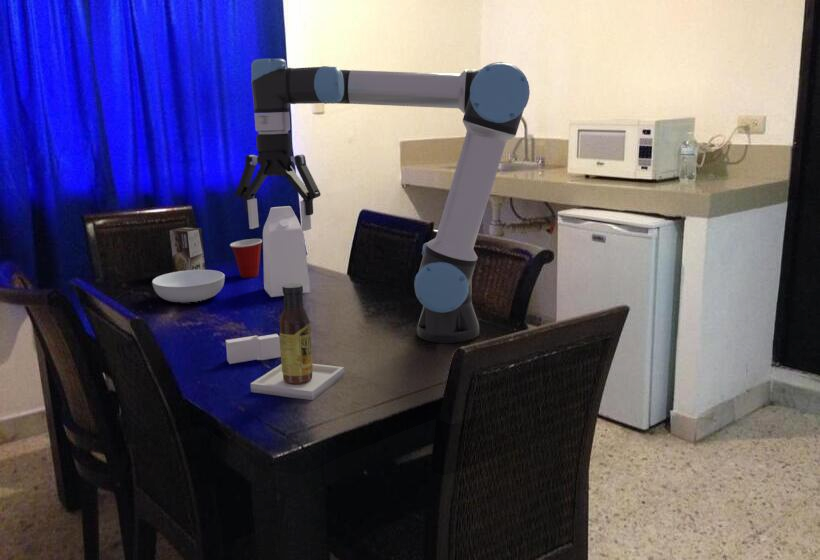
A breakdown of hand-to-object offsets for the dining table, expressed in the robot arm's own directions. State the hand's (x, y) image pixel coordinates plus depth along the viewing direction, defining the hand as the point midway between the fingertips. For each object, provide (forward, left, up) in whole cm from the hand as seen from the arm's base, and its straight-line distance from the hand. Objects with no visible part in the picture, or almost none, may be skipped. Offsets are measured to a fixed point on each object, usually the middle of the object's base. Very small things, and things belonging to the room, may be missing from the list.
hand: (280, 229), depth 166 cm
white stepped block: (+4, +8, -29) cm, 31 cm away
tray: (-13, +18, -29) cm, 36 cm away
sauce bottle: (-13, +18, -28) cm, 36 cm away
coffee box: (+74, -60, -29) cm, 100 cm away
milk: (+30, -50, -29) cm, 65 cm away
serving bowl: (+53, -33, -29) cm, 69 cm away
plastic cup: (+53, -64, -29) cm, 88 cm away
